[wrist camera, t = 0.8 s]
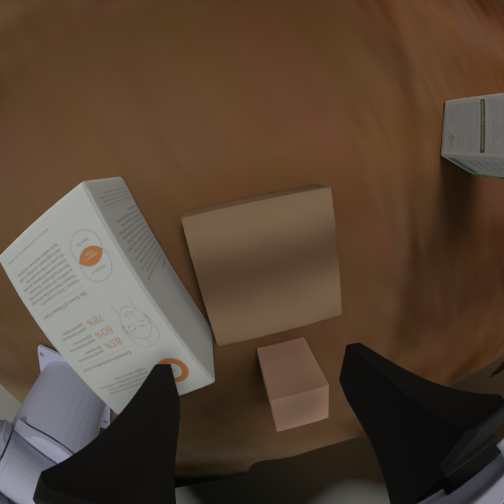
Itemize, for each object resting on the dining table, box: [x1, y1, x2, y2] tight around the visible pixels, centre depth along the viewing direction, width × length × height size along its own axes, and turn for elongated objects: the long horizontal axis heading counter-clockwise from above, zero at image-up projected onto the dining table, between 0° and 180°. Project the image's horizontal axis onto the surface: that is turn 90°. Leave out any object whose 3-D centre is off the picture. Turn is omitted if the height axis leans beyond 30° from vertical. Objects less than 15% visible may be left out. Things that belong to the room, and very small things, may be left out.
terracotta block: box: [257, 337, 329, 432], centre depth 20 cm, size 4×4×6 cm
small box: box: [0, 177, 215, 414], centre depth 16 cm, size 8×6×13 cm
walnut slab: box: [181, 184, 342, 346], centre depth 19 cm, size 9×9×3 cm
